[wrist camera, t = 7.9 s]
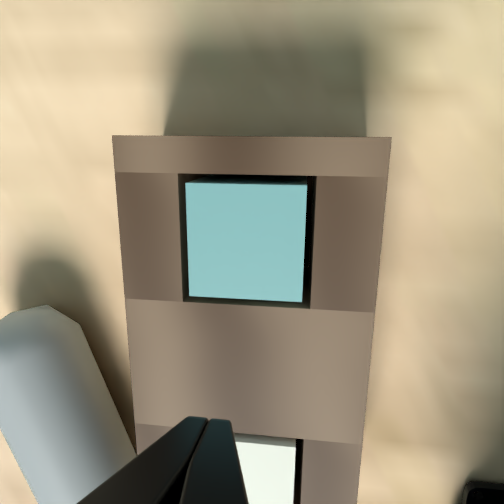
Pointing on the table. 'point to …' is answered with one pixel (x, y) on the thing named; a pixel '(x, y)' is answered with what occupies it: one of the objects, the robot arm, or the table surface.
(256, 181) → the peg teal
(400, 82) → the table surface
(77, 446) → the tube
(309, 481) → the walnut block
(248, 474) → the peg cream
